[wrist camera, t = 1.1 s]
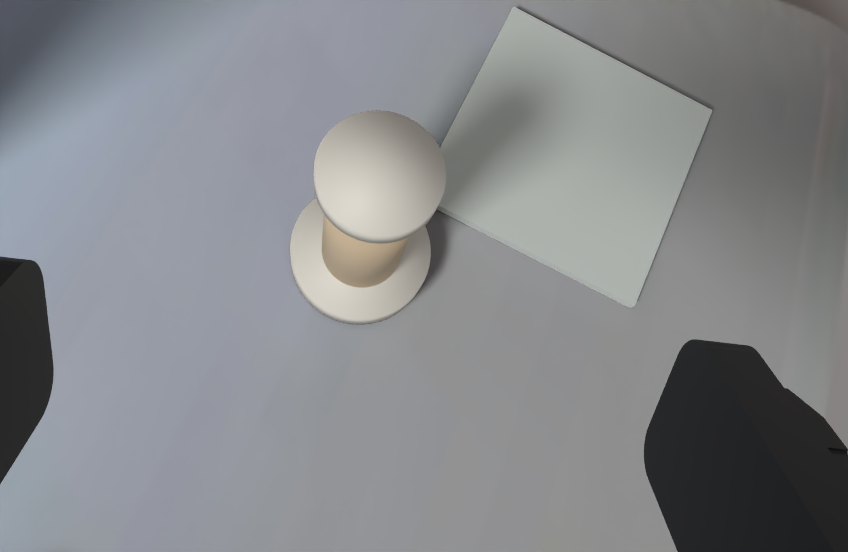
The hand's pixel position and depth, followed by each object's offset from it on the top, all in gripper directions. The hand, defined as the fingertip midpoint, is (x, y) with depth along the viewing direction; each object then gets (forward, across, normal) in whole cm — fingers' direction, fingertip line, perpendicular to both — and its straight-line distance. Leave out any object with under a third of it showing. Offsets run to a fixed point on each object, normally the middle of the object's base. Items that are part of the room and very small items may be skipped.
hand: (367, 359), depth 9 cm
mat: (+28, -10, +6) cm, 30 cm away
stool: (+23, 0, +11) cm, 26 cm away
